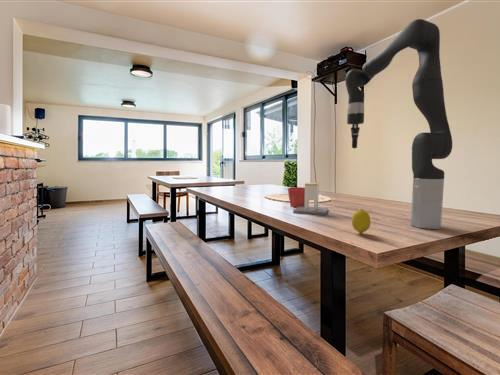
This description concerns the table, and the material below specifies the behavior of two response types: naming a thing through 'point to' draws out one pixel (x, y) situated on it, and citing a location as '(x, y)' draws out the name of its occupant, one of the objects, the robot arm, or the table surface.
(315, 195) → the stool
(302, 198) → the flower pot
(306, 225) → the table surface
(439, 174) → the robot arm
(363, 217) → the lemon
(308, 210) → the trivet
